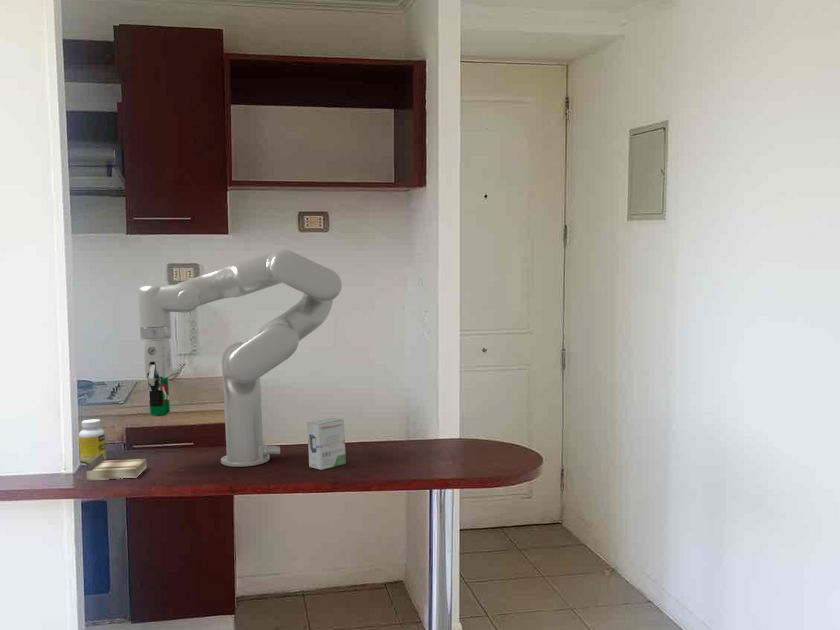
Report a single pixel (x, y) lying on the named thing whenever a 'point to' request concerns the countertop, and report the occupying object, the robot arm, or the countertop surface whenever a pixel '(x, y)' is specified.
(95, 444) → the pill bottle
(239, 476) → the countertop surface
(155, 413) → the soda can
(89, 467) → the dock
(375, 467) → the countertop surface
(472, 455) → the countertop surface
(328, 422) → the ink box
